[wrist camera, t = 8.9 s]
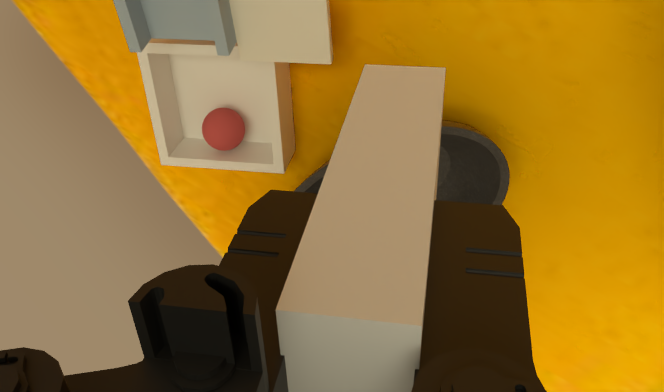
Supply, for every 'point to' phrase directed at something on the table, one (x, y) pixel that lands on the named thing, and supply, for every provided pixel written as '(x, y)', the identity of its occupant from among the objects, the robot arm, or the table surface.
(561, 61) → the table surface
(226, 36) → the ramp
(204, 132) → the ball
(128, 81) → the table surface
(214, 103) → the dish
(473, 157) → the bowl
